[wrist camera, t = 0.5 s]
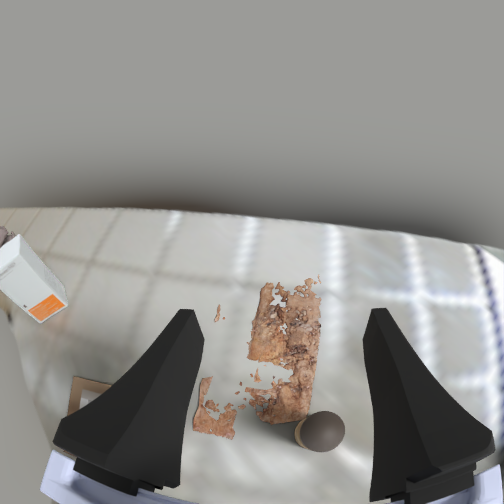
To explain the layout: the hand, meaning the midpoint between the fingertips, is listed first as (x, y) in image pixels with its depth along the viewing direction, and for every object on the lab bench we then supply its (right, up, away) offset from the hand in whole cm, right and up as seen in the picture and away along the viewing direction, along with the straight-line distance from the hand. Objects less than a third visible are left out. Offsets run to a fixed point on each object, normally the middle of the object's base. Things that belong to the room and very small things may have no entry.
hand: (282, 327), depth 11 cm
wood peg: (+5, -14, +12) cm, 19 cm away
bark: (0, -7, +18) cm, 20 cm away
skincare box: (-30, -5, +22) cm, 37 cm away
